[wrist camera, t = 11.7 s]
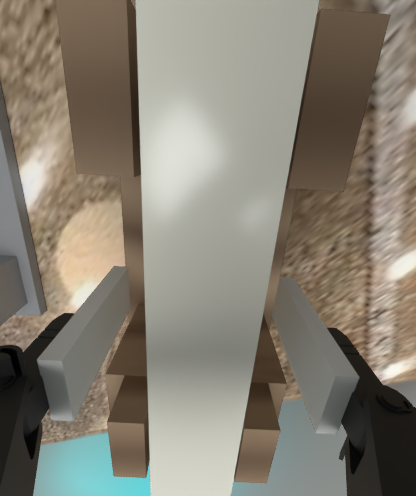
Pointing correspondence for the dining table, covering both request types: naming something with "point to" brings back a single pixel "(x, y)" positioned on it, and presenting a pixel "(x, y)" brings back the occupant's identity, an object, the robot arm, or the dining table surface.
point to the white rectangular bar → (211, 215)
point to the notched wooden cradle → (129, 169)
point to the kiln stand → (15, 237)
